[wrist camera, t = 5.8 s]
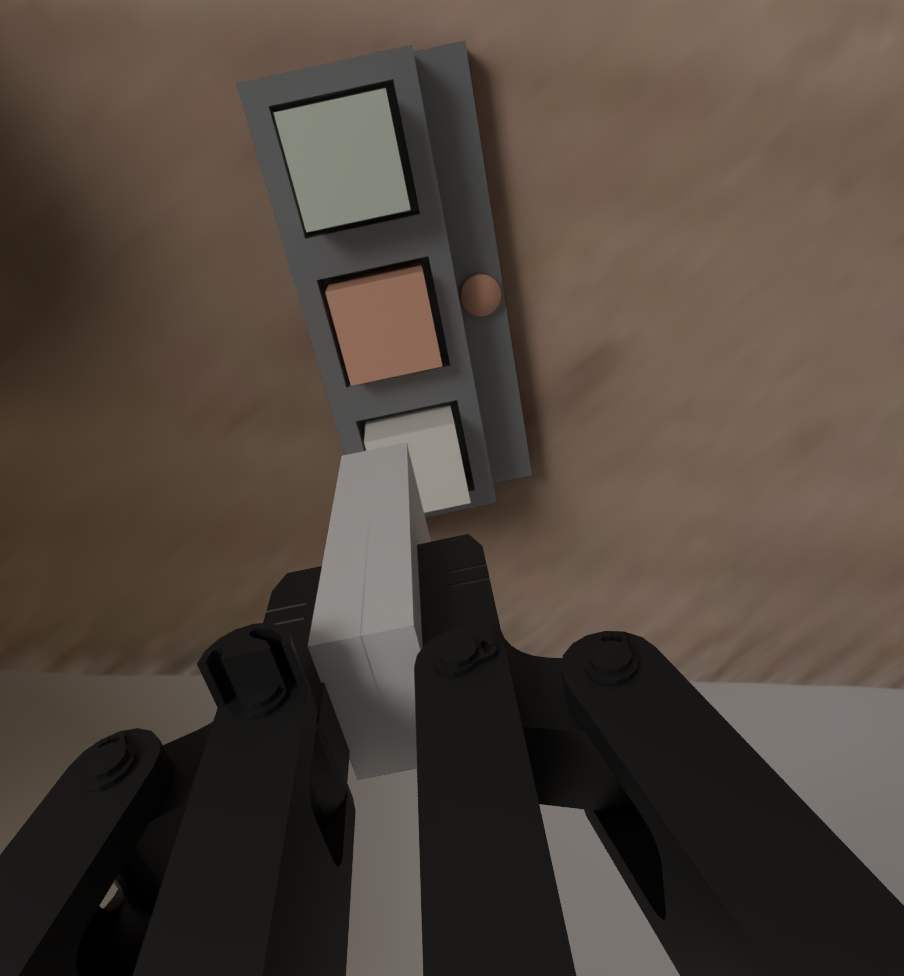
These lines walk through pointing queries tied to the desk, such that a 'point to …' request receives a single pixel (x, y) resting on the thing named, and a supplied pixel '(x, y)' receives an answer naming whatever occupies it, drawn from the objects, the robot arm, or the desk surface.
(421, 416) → the ivory key
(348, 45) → the desk surface
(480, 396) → the key console
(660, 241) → the desk surface
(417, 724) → the robot arm
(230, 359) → the desk surface
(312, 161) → the sage key
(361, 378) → the terracotta key
